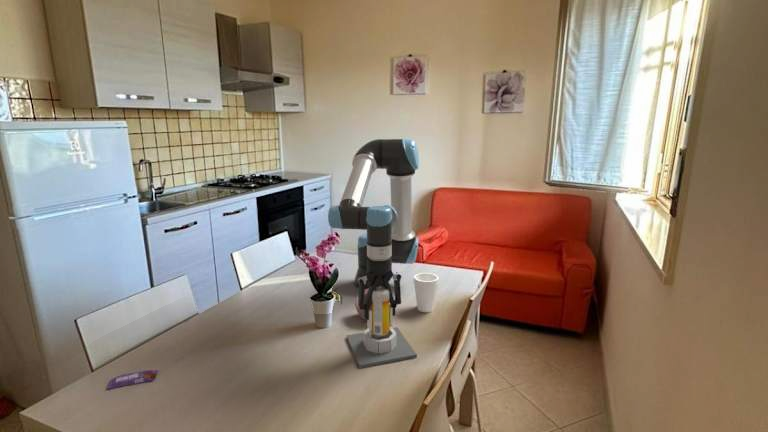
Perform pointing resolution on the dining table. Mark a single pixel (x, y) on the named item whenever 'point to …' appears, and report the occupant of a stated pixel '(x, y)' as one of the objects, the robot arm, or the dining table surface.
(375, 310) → the beer can
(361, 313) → the mortar and pestle
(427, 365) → the dining table surface
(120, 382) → the snack package
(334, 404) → the dining table surface
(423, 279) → the foam cup
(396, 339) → the socket
